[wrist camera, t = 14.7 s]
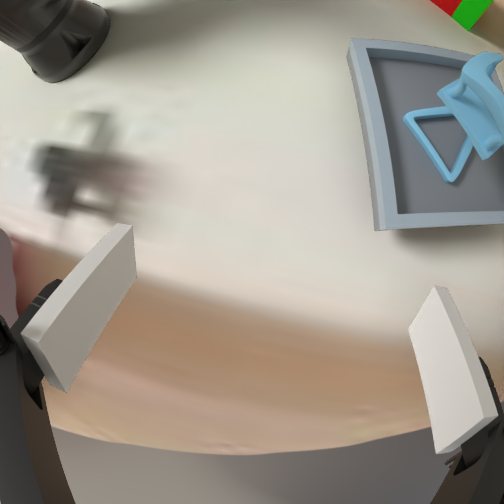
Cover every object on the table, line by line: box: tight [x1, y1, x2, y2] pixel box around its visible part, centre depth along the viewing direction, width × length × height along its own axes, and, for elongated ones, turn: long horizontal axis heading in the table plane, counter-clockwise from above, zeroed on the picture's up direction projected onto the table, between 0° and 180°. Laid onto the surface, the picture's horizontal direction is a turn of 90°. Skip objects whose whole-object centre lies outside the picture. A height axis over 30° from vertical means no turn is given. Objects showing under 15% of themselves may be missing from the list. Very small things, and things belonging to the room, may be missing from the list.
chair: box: [403, 52, 504, 183], centre depth 18 cm, size 8×8×12 cm
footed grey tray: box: [346, 38, 504, 231], centre depth 26 cm, size 19×18×7 cm
